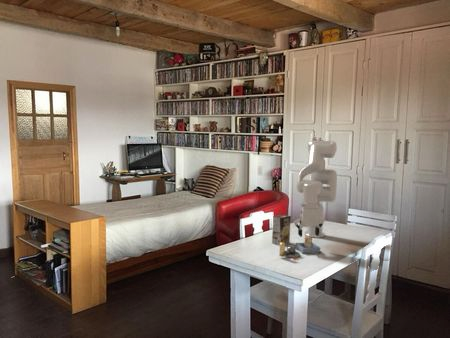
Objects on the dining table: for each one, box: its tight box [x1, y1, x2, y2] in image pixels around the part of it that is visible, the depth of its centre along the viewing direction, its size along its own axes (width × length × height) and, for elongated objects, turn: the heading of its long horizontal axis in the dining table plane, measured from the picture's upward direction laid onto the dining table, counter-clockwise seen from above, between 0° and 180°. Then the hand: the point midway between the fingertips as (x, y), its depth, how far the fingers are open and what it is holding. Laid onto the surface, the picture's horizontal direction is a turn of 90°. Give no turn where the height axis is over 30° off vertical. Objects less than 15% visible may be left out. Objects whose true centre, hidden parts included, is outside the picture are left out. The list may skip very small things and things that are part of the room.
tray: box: [295, 241, 321, 255], centre depth 214 cm, size 10×10×3 cm
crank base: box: [284, 251, 301, 261], centre depth 205 cm, size 12×9×1 cm
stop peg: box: [303, 235, 313, 248], centre depth 214 cm, size 4×4×7 cm
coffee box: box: [271, 214, 292, 246], centre depth 227 cm, size 9×6×16 cm
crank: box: [279, 242, 297, 257], centre depth 203 cm, size 11×4×7 cm, turn 131°
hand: (308, 235), depth 214 cm, fingers open, 9 cm apart
